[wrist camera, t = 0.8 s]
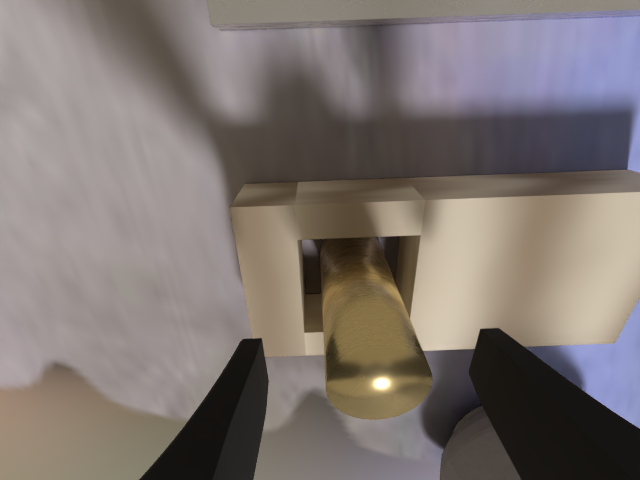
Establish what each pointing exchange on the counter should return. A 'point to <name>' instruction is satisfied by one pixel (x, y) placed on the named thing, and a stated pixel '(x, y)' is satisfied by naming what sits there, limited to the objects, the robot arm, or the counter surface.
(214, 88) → the counter surface
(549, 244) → the beam
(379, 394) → the axle
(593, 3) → the v-block
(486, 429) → the coffee pot
